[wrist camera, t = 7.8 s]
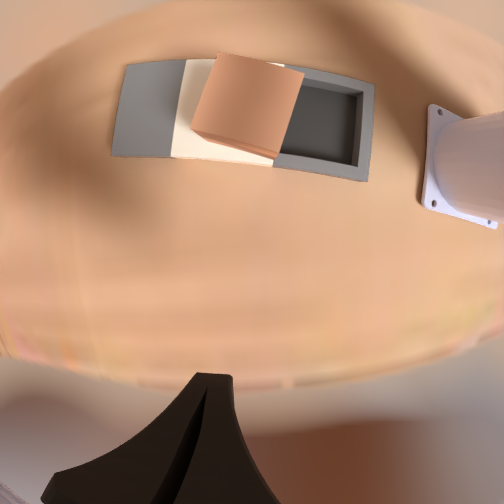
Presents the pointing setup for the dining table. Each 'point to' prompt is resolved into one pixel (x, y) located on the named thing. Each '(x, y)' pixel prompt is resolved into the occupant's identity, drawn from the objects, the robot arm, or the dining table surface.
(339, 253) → the dining table surface
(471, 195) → the robot arm
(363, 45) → the dining table surface
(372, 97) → the board
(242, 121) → the cube
